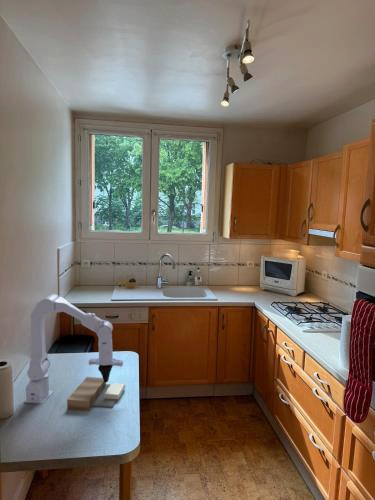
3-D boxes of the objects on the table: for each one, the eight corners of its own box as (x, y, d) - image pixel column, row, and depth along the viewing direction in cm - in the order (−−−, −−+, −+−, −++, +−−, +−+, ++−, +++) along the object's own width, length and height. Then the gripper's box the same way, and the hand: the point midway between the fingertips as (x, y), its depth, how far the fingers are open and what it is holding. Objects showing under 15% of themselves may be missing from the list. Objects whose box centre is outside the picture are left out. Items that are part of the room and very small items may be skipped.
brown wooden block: (89, 410, 135) (88, 401, 134) (67, 409, 136) (66, 399, 135) (106, 386, 153) (105, 378, 153) (86, 385, 154) (86, 376, 154)
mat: (112, 407, 137) (112, 406, 136) (92, 406, 138) (92, 405, 137) (125, 386, 153) (125, 385, 153) (106, 385, 154) (106, 384, 154)
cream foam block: (104, 393, 142) (104, 398, 142) (118, 394, 142) (118, 399, 142) (111, 383, 151) (111, 387, 151) (124, 383, 150) (125, 388, 151)
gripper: (125, 347, 148) (125, 377, 150) (92, 346, 150) (93, 375, 151) (119, 354, 141) (120, 385, 143) (86, 352, 143) (87, 383, 144)
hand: (106, 381), depth 146 cm, fingers closed
